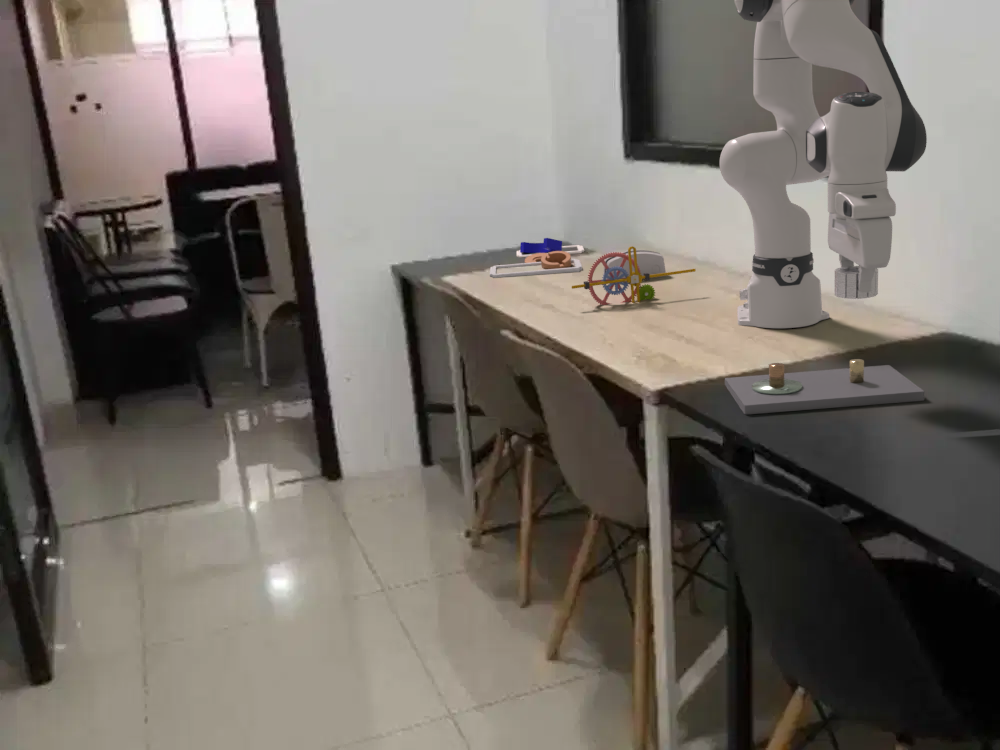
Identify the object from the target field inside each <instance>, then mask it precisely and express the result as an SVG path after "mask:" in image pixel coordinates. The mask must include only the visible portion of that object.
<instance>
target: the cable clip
mask: <svg viewBox="0 0 1000 750" xmlns="http://www.w3.org/2000/svg"><path fill="white" fill-rule="evenodd" d="M562 246H563V241H562V240H559V239H553V238H551V237H544V238H543V242H526V241H521V242H520V249H519V250H520V252H521V253H522V254H536V253H549V252H553V251H563V248H562Z"/></svg>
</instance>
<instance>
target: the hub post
mask: <svg viewBox="0 0 1000 750" xmlns="http://www.w3.org/2000/svg"><path fill="white" fill-rule="evenodd" d="M784 373H785V363H781V362H772V363H769V364H768V375H769V379H766V380H761V381H757V382H755V383H753V384H752V390H753V391H755V392H757V393H761V394H767V395H785V394H792V393H796V392H798V391H800V390H801V389H802V384H801V383H800V382H798V381H795V380H790V379H784Z"/></svg>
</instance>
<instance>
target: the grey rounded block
mask: <svg viewBox="0 0 1000 750" xmlns="http://www.w3.org/2000/svg"><path fill="white" fill-rule="evenodd" d="M620 252H621V251H620ZM622 253H624V254H626V255H628V250H625V251H623V252H621V254H622ZM636 255H637V264H638V265H637V266H639V267H638V268H640V269H639V270H641V271H640V273H641V274H640V275H642V276H644V273H649V275H653V274H660V273H667V272H666V266H665V258H664V256H663V255H662V254H661V253H660V252H657V251H652V250H647V249H636ZM631 257H632V258H633V260H634V252H633V249H631ZM604 261H605V262H606V264H607V265H608V267H609V268H612V267H613V268H614V266H615V267H616V266H618V267H620V265H621V263H622V261H623V258H622V257H610V258H607V259H605V260H604ZM623 268H624V270H626V271H627V272H628V273H627V274H629V275H630V270H629V261H628V260H626V262H625V264H624V266H623ZM623 268H622V269H623ZM606 271H607V270H606V269H605V267H604V266H603V273H602V277H604V276H603V275H605V274H604V273H606ZM617 271H618V270H617ZM633 272H634V273H635V268H634V266H633V265H632V273H633ZM612 273H613V275H614V271H612ZM621 274H623V272H620V274H619V276H620V275H621ZM629 275H628V276H629ZM608 276H610V275H609V274H608ZM619 276H618V277H619ZM659 277H662V276H659ZM659 277H658V278H659ZM622 278H626V277H625V276H624V277H622ZM606 279H607V278H606Z"/></svg>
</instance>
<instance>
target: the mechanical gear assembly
mask: <svg viewBox="0 0 1000 750" xmlns="http://www.w3.org/2000/svg"><path fill="white" fill-rule="evenodd" d="M631 250H633V252H634V260H633V258H632V257H631ZM636 250H637V249H636V247H635V246H629V247H628V248H627V251H628V255H626V254H624V253H622V254H621V251H620V252H619V251H615V252H614V251H613V252H612V251H610V252H608V253H605V254H603V255H601V256H599V258H597V259H596V260H595V261H594V262H593V263H592V265H591V267H590V269H589V270H588V271H589V272H588V275H587V276H588V277H587V279H586V280H587V281H583V284H577V285H571V289H572V290H573V289H580V288H583V289H585V290H588V291H589V293H590V295H591V297H592V299H593V300H594V301H595V302H596V303H597V304H599V305H601V306H604V305H612V304H613V303H610V302H607V301H608V299H609V297H610V295H612V296H613V295H614V296H619V295H621V296H622V297H623V299H624V300H623V301H621V302H620V303H630V302H632V303H633V304H635V299H636V301H637V303H641V301H644V300H653V299H655V296H656V292H655V291H656V289H655V287H653V285H651V284H647V283H644V284H642V283H643V281H645V282H648V281H650V280H651V279H652V278H659V276H661V277H666V276H673V275H679V274H680V275H681V274H686V273H694V272H696V268H690V269H683V270H682V269H681V270H675V271H669V272H668V271H667V272H666V273H660V274H653V275H649V273H644V276H642V275H640V274H641V273H640V271H641V270H639V269H640V268H638V267H639V266H637V265H638V264H637V255H636ZM610 257H622V258H623V261H622V263H621V265H620V267H618V266H616V267H615V266H614V268H613V267H612V268H609V267H608V265H607V264H606V262H605V260H606V259H607V258H610ZM626 260H628V261H629V270H630V275H629V274H627V273H628V272H627V271H626V270H624V268H623V266H624V264H625V262H626ZM600 264H602V265H603V268H604V267H605V269H606V270H607V271H606V273H604V272H603V273H604V274H605V275H603V274H602V277H601V278H602V279H596V280H595V279H594V280H593V276H594V273H595V272H596V269H597V267H598V266H599V265H600ZM632 265H633V266H634V268H635V273H634V272H633V273H632ZM622 268H623V269H622ZM617 270H618V271H617ZM612 271H614V275H613V273H612ZM620 272H623V274H621V275H620V276H619V274H620ZM608 274H609V275H610V276H608ZM628 275H629V276H628ZM603 276H604V277H603ZM618 276H619V277H618ZM624 276H625V277H626V278H622V277H624ZM606 278H607V279H606ZM601 285H602V288H603V290H605V292H606V294H605V296H604V297H603V300H602V299H601V298H600V297H599V296H598V295H597V293H596V292H595V289H594V286H601ZM621 285H622V286H623V287H622V286H621ZM629 285H630V292H631V293H630V296H629V297H628V296H627V294H626V293H625V291H627V290H626V289H628V287H629ZM613 289H614V290H613Z"/></svg>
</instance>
